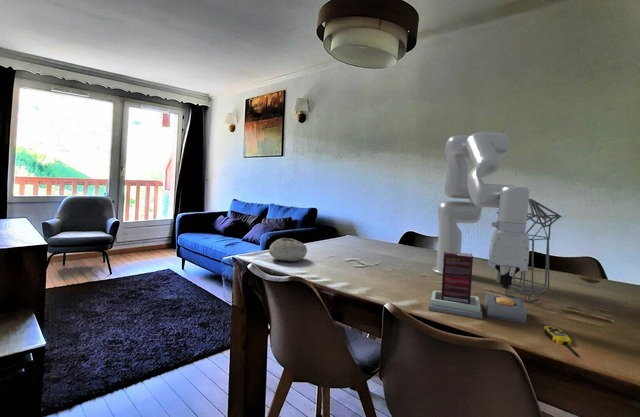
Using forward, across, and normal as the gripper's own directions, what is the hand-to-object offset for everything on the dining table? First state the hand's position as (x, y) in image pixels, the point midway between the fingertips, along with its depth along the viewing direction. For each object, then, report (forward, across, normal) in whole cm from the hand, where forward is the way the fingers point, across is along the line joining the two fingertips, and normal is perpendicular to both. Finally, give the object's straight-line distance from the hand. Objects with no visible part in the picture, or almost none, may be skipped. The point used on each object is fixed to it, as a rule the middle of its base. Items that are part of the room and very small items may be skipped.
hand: (505, 287), depth 104 cm
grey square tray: (+8, -14, -1) cm, 16 cm away
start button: (+7, 0, -1) cm, 7 cm away
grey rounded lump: (+10, -88, +28) cm, 93 cm away
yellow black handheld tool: (+8, +12, -15) cm, 21 cm away
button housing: (+8, 0, -1) cm, 8 cm away
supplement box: (+7, -14, 0) cm, 16 cm away
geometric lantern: (+9, +8, +21) cm, 24 cm away
